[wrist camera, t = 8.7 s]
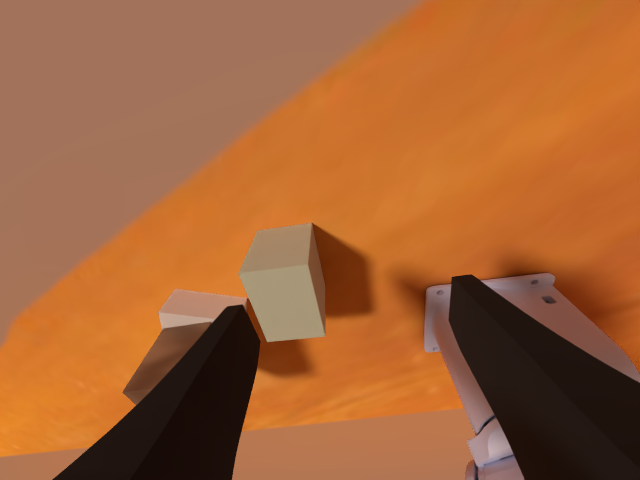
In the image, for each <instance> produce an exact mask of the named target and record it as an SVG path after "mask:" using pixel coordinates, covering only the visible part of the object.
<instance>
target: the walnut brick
mask: <svg viewBox="0 0 640 480" xmlns="http://www.w3.org/2000/svg"><path fill="white" fill-rule="evenodd" d="M211 324H212V323H211V322H204V323H197V324H190V325H183V326H176V327H169V328H164V329H163V330H162V332H161V333H160V335H159V336H158V338H157V340H156V341H155V343H154V344H153V346H152V347H151V349H150V350H149V352H148V353H147V355H146V356H145V358H144V360H143V361H142V363H141V364H140V366H139V367H138V369H137V370H136V372H135V373H134V375H133V377H132V378H131V380H130V381H129V383H128V384H127V386H126V387H125V389H124V390H123V393H124V394H125V395H126V396H127V397H128V398H129V399H130V400H131V401H132V402H133V403H134V404H136V405H137V404H138V403H139V402H140V401H141V400H142V399H143V398H144V397H145V396H146V395H147V394H148V393H149V392H150V391H151V390H152V389H153V388H154V387H155V386H156V385H157V384H158V383H159V382H160V381H161V380H162V379H163V378H164V376H165V375H166V374H167V373H168V372H169V371H170V370H171V369H172V368H173V367H174V366H175V365H176V364H177V363H178V362H179V360H180V359H181V358H182V357H183V356H184V355H185V354H186V353H187V351H188V350H189V349H190V348H191V347H192V346H193V345H194V343H195V342H196V341H197V340H198V339H199V338H200V337H201V335H202V334H203V333H204V332H205V331H206V330H207V328H208V327H209V326H210V325H211Z"/></svg>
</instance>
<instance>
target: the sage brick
mask: <svg viewBox="0 0 640 480" xmlns="http://www.w3.org/2000/svg"><path fill="white" fill-rule="evenodd" d="M238 274H239V276H240V278H241V281H242V283H243V286H244V288H245V290H246V293H247V295H248V298H249V300H250V302H251V305H252V307H253V309H254V312H255V314H256V317H257V319H258V321H259V324H260V326H261V328H262V331H263V333H264V336H265V338H266V340H267V342H274V341H284V340H294V339H304V338H314V337H324V336H325V282H324V277H323V273H322V268H321V263H320V259H319V254H318V249H317V244H316V240H315V235H314V230H313V226H312V223H307V224H300V225H293V226H286V227H279V228H273V229H266V230H259V231H257V233H256V235H255V237H254V240H253V242H252V244H251V246H250V249H249V251H248V253H247V255H246V258H245V260H244V262H243V264H242V266H241V269H240V271H239V273H238Z"/></svg>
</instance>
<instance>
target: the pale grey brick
mask: <svg viewBox="0 0 640 480" xmlns="http://www.w3.org/2000/svg"><path fill="white" fill-rule="evenodd" d="M241 304H243V306H244V308H245V310H246V312H247V298H244V297H236V296H228V295H220V294H213V293H205V292H197V291H189V290H181V289H175V290H174V291H173V292H172V294H171V295H170V297H169V298H168V299H167V301H166V302H165V304H164V305H163V306H162V308H161V309H160V311H159V312H158V313H159V317H160V322H161V326H162V330H163V329H164V328H169V327H176V326H183V325H190V324H197V323H204V322H211V323H213V321H214V320H215V319H216V318H217V317H218V316H219V314H220V313H221V312H222V311H223V310H224V309H225V308H226V307H227V306H233V305H241Z"/></svg>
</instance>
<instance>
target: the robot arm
mask: <svg viewBox="0 0 640 480" xmlns="http://www.w3.org/2000/svg"><path fill="white" fill-rule="evenodd" d="M554 281H555V276H553V275H552V274H551V273H541V274H533V275H524V276H515V277H507V278H498V279H489V280H479V279H477V278H476V277H475V276H473V275H472V274H471V275H463V276H455V277H452V282H451V284H446V285H437V286H431V287H429V288H427V290H426V302H425V324H424V349H425V351H426V352H438V351H441V354H442V356H443V359H444V361H445V363H446V366H447V368H448V370H449V373H450V375H451V378H452V380H453V382H454V385H455V387H456V390H457V392H458V394H459V397H460V399H461V401H462V404H463V406H464V409H465V411H466V413H467V415H468V418H469V420H470V423H471V425H472V427H473V430H474V432H475V435H476V437H474V438H472V439H470V440H468V441H467V443H468V445H469V448H470V450H471V453H472V456H473V458H474V460H472V461H470V462H469V463H468V465H467V467H466V473H465V480H640V374H639V372H638V370H637V369H636V367H635V365H634V364H633V363H632V361H631V360H630V358H629V357H628V356H627V355H626V353H625V352H624V351H623V350H622V349H621V348H620V347H619V346H618V345H617V344H616V343H615V342H614V341H613V340H612V339H611V338H609V337H608V336H607V335H606V334H605V333H604V332H603V331H602V330H601V329H600V328H599V327H597V326H596V325H595V324H594V323H593V322H592V321H591V320H590V319H589V318H588V317H587V316H585V315H584V314H583V313H582V312H581V311H580V310H579V309H578V308H577V307H576V306H574V305H573V304H572V303H571V302H570V301H569V300H568V299H567V298H566V297H565V296H564V295H562V294H561V293H560V292H559V291H558V290H557V289H556V288H555V287H554V286H553V284H554ZM440 290H441V291H440ZM438 291H440V292H438ZM259 349H260V340H259V338H258V335H257V333H256V331H255V329H254V327H253V325H252V323H251V321H250V318H249V316H248V314H247V312H246V310H245V308H244V306H243V304H241V305H233V306H227V307H226V308H225V309H224V310H223V311H222V312H221V313H220V314H219V316H218V317H217V318H216V319H215V320H214V321H213V323H212V324H211V325H210V326H209V327H208V328H207V330H206V331H205V332H204V333H203V334H202V335H201V337H200V338H199V339H198V340H197V341H196V342H195V343H194V345H193V346H192V347H191V348H190V349H189V350H188V351H187V353H186V354H185V355H184V356H183V357H182V358H181V359H180V360H179V362H178V363H177V364H176V365H175V366H174V367H173V368H172V369H171V370H170V371H169V372H168V373H167V374H166V375H165V376H164V378H163V379H162V380H161V381H160V382H159V383H158V384H157V385H156V386H155V387H154V388H153V389H152V390H151V391H150V392H149V393H148V394H147V395H146V396H145V397H144V398H143V399H142V400H141V401H140V402H139V403H138V404H137V405H136V406H135V407H134V408H133V409H132V410H131V411H130V412H129V413H128V414H127V415H126V416H125V417H124V418H123V419H121V420H120V421H119V422H118V423H117V424H116V425H115V426H114V427H113V428H112V429H111V430H110V431H109V432H107V433H106V434H105V435H104V436H103V437H102V438H101V439H99V440H98V441H97V442H96V443H95V444H94V445H92V446H91V447H90V448H89V449H88V450H87V451H86V452H84V453H83V454H82V455H81V456H80V457H79V458H78V459H76V460H75V461H74V462H73V463H72V464H71V465H69V466H68V467H67V468H66V469H65V470H64V471H62V472H61V473H60V474H59V475H58V476H56V477H55V478H54V479H53V480H232V475H233V468H234V463H235V457H236V452H237V447H238V443H239V439H240V435H241V431H242V427H243V423H244V419H245V415H246V411H247V407H248V403H249V399H250V395H251V391H252V387H253V383H254V379H255V375H256V371H257V364H258V357H259Z"/></svg>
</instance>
